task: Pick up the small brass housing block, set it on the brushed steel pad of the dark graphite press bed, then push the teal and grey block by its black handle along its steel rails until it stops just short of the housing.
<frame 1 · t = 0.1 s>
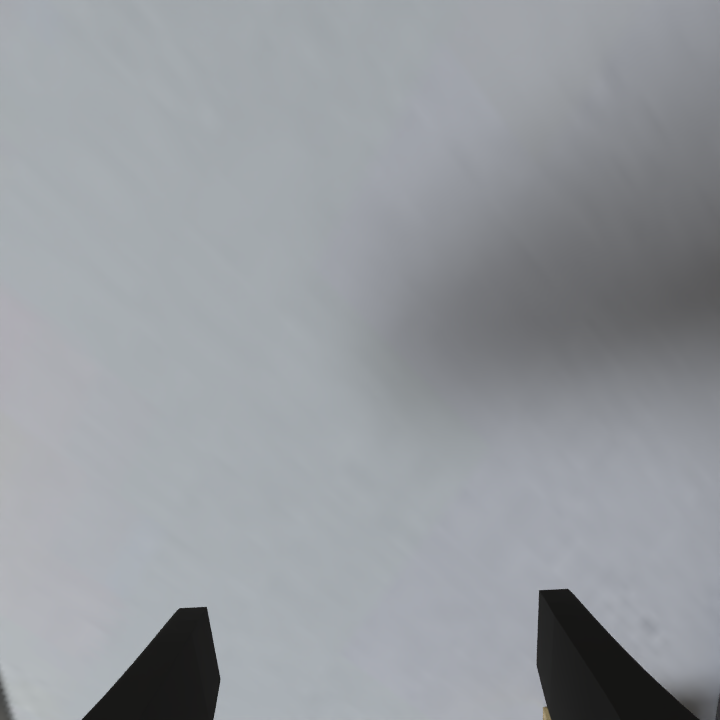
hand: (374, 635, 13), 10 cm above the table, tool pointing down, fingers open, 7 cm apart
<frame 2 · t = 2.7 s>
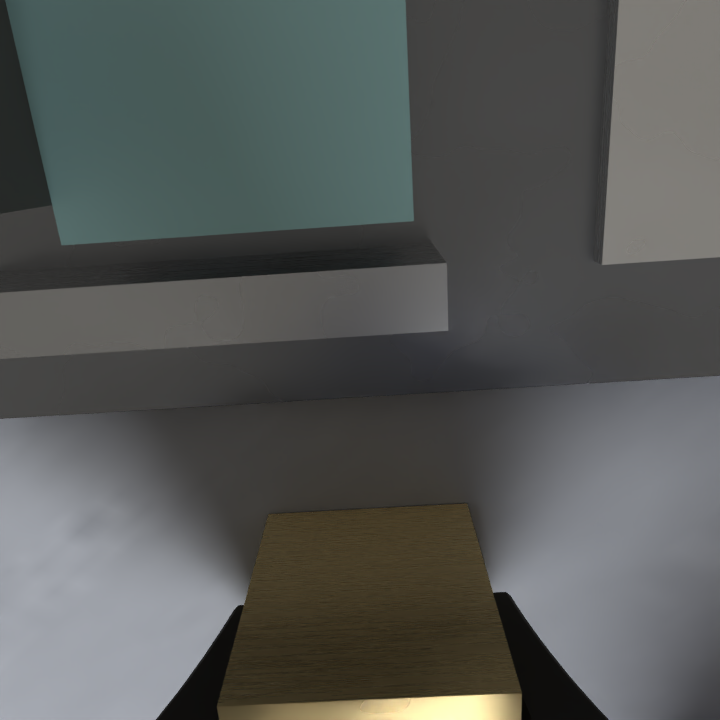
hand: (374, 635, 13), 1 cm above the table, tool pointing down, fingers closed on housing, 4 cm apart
press bed: (392, 82, 11), on the table
teal and grey block: (128, 57, 6), point 4 cm above the table, slide at 0.0 cm
housing: (373, 590, 14), on the table, touching gripper
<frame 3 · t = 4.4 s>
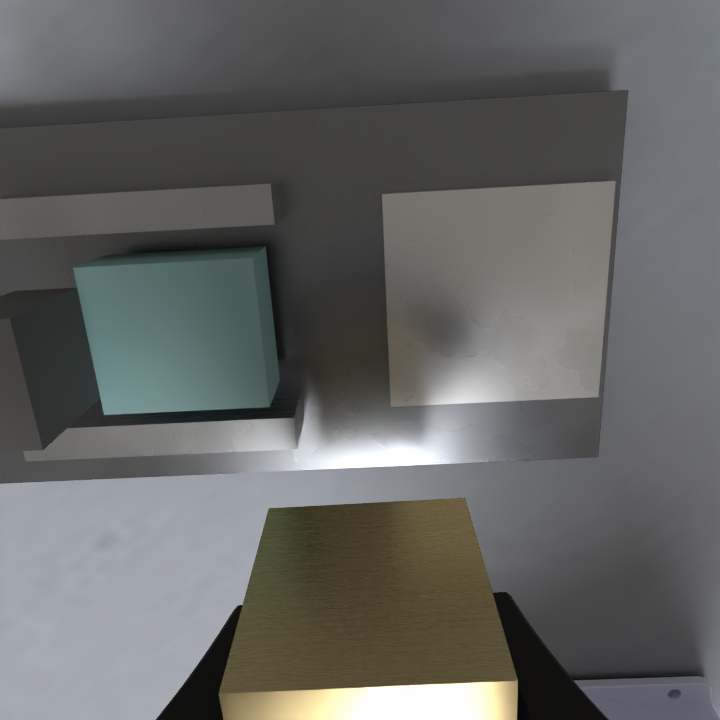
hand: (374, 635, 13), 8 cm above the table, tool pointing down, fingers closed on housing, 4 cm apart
press bed: (282, 300, 19), on the table
teal and grey block: (137, 347, 15), point 4 cm above the table, slide at 0.0 cm
housing: (372, 583, 14), point 7 cm above the table, touching gripper
when the fingers open (4 cm above the table, at t = 6.4 s): housing stays where it is, resting on press bed.
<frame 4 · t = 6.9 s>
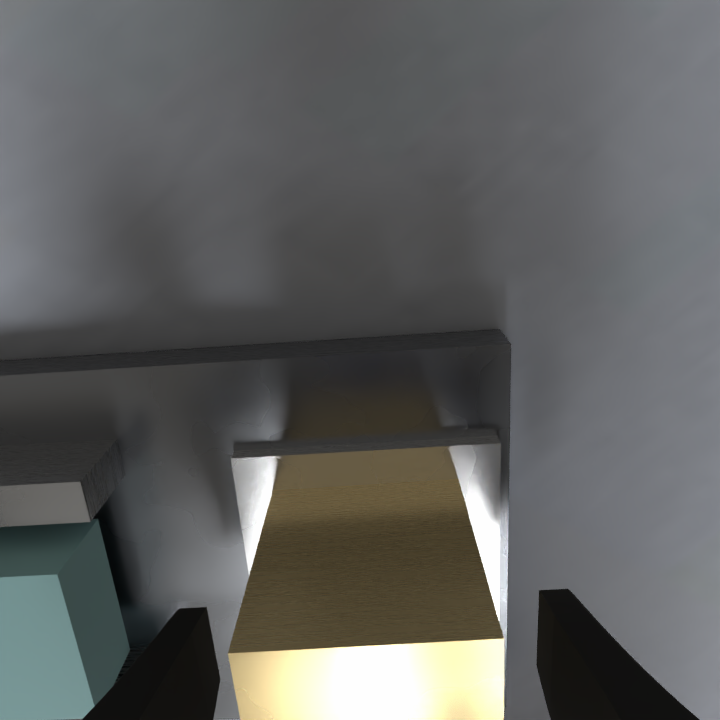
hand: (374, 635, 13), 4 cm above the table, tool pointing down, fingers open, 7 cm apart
press bed: (142, 538, 17), on the table
housing: (371, 562, 15), point 2 cm above the table, touching press bed
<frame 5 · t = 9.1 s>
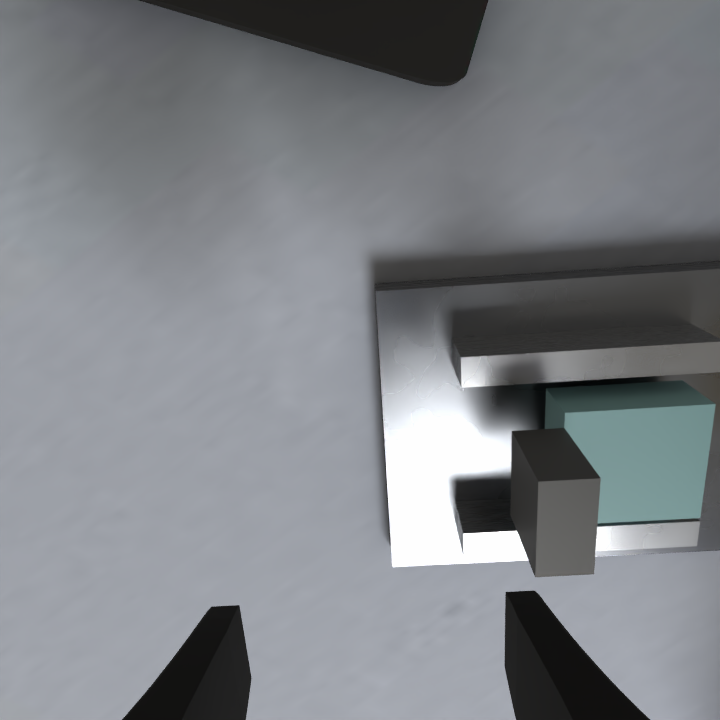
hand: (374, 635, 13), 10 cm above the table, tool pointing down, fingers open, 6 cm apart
press bed: (649, 410, 22), on the table
teal and grey block: (615, 476, 18), point 4 cm above the table, slide at 0.0 cm
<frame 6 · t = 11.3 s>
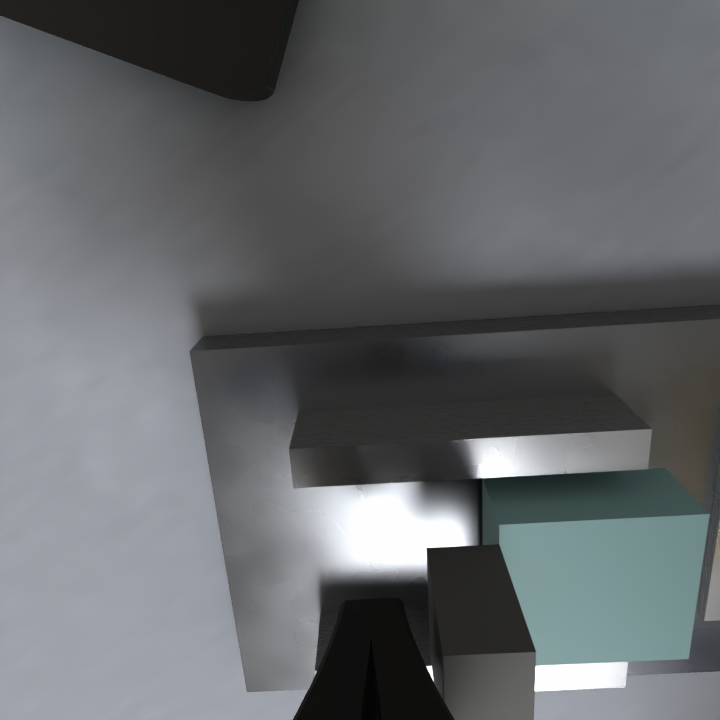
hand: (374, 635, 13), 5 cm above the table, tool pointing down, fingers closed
press bed: (572, 497, 17), on the table
teal and grey block: (569, 612, 13), point 5 cm above the table, slide at 1.5 cm, touching gripper
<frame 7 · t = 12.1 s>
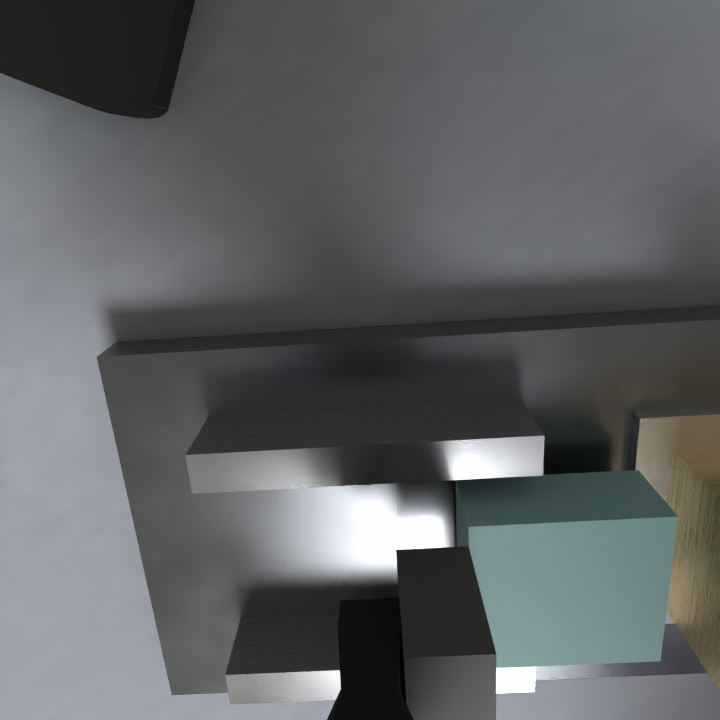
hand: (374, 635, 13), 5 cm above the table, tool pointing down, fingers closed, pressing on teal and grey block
press bed: (492, 501, 17), on the table
teal and grey block: (539, 614, 13), point 4 cm above the table, slide at 3.2 cm, touching gripper
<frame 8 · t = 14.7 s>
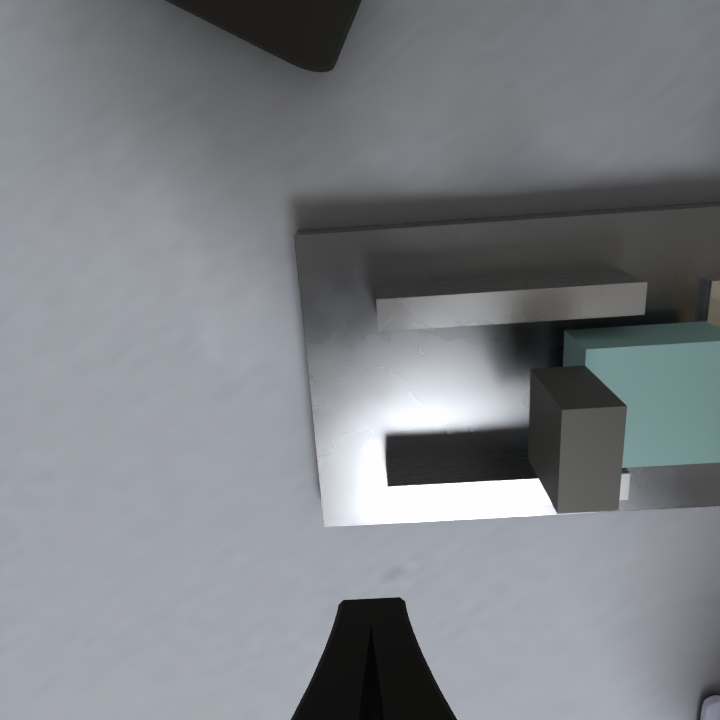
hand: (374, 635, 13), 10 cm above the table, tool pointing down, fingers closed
press bed: (585, 364, 22), on the table
teal and grey block: (637, 416, 18), point 4 cm above the table, slide at 3.0 cm
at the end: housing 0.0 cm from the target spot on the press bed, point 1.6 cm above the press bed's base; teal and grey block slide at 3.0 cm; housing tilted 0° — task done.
